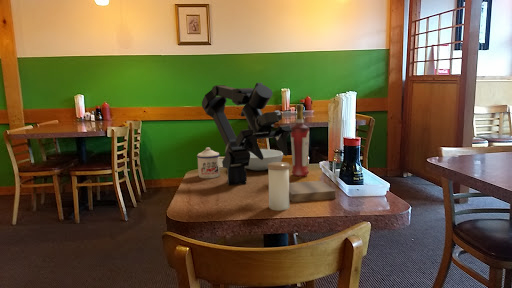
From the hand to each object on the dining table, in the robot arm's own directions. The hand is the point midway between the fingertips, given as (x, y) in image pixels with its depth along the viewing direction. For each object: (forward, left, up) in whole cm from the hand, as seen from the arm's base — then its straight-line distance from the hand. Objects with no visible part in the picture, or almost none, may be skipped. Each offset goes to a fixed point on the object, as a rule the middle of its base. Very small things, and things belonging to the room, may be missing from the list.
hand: (274, 157), depth 115 cm
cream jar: (-1, -8, -14) cm, 16 cm away
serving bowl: (+3, +45, -14) cm, 48 cm away
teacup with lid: (-18, +37, -14) cm, 44 cm away
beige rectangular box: (+11, +2, -14) cm, 18 cm away
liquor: (+16, +27, -14) cm, 35 cm away
